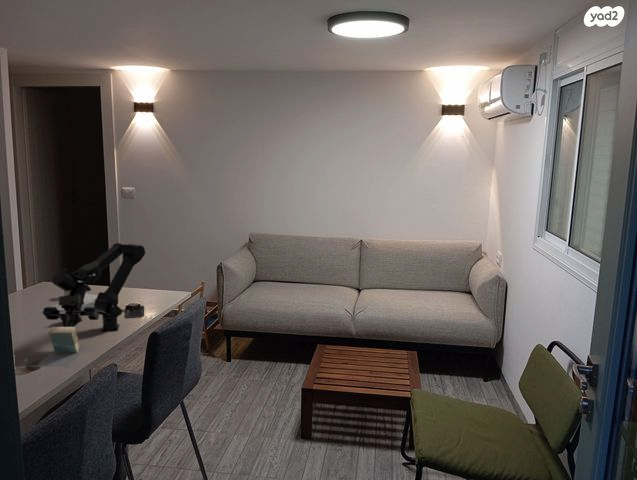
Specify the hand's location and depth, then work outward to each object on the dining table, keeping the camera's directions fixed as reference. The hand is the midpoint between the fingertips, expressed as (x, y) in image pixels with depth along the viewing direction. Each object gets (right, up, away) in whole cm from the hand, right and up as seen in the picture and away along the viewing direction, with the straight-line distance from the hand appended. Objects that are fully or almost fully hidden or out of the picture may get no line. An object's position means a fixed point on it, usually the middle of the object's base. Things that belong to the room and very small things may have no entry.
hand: (65, 334), depth 183 cm
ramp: (-20, +2, +51) cm, 54 cm away
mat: (0, -8, -3) cm, 8 cm away
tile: (0, -6, +2) cm, 6 cm away
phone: (+8, +1, +48) cm, 49 cm away
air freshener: (-29, +6, +69) cm, 75 cm away
